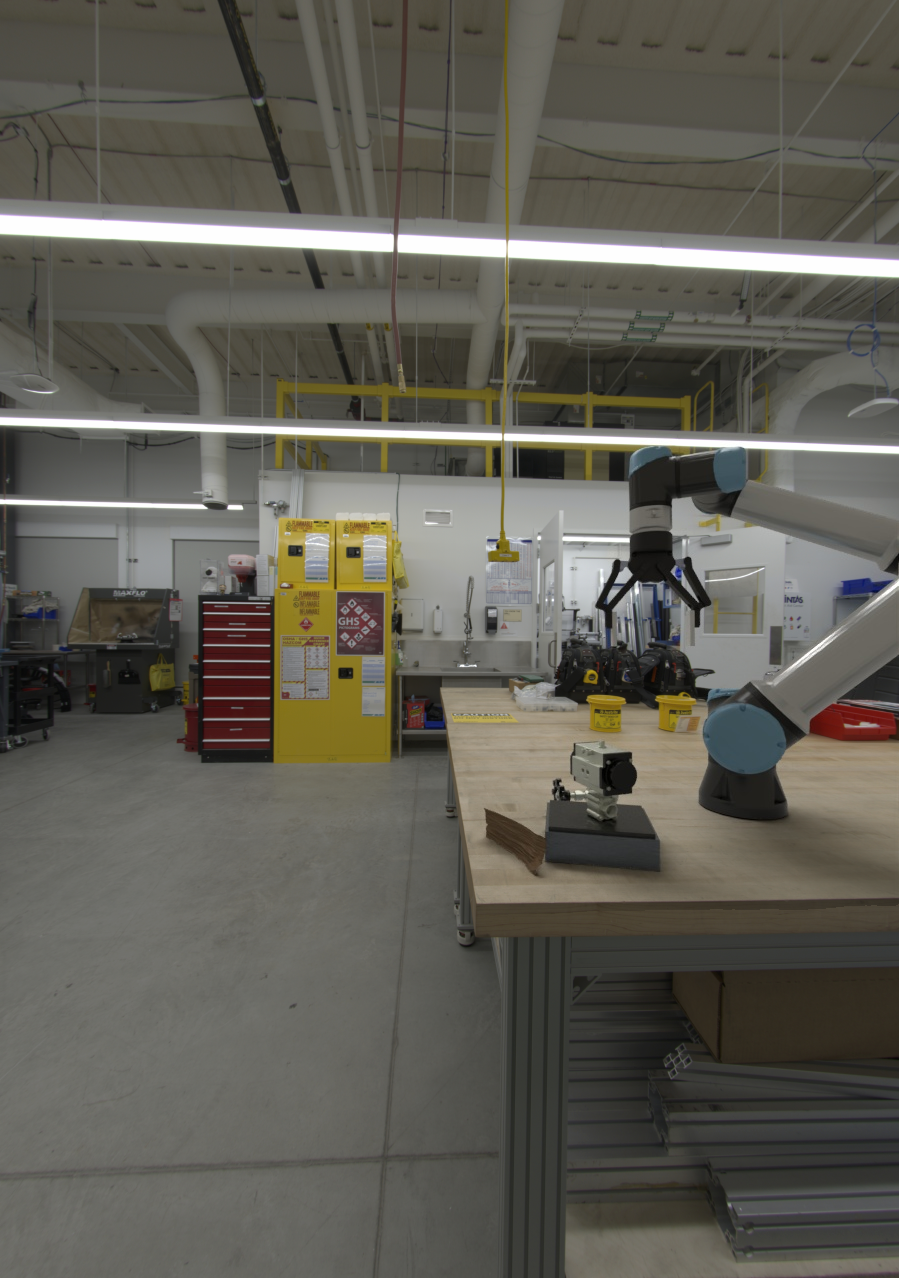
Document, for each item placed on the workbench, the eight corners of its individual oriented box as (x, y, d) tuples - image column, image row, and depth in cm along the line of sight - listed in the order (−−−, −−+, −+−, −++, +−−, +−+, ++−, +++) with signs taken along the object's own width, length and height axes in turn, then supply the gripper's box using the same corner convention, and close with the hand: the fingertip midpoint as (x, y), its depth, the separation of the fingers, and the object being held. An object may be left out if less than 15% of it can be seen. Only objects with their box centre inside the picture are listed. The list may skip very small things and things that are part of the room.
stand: (643, 834, 86) (643, 804, 86) (660, 871, 72) (659, 835, 72) (547, 827, 89) (547, 798, 89) (545, 861, 75) (545, 827, 75)
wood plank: (478, 838, 84) (478, 808, 84) (489, 836, 85) (489, 806, 85) (535, 876, 71) (536, 840, 71) (547, 873, 72) (547, 837, 72)
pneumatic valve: (593, 804, 86) (593, 733, 86) (638, 828, 75) (638, 746, 75) (564, 807, 85) (564, 734, 85) (606, 832, 73) (606, 749, 74)
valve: (611, 806, 101) (551, 807, 100) (611, 773, 101) (551, 774, 100) (624, 818, 94) (560, 819, 94) (624, 782, 94) (560, 783, 94)
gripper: (583, 532, 94) (584, 646, 94) (729, 525, 90) (731, 645, 90) (580, 540, 102) (581, 646, 102) (715, 534, 97) (716, 645, 97)
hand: (651, 646), depth 96 cm, fingers open, 13 cm apart
